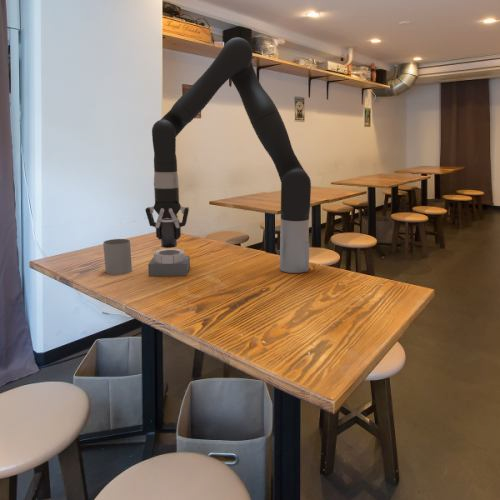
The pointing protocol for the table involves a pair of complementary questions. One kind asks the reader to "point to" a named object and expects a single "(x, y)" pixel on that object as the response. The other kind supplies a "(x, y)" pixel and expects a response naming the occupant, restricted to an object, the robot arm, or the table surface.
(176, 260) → the grey block with ring
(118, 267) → the cup
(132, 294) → the table surface
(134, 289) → the table surface
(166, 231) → the lens
